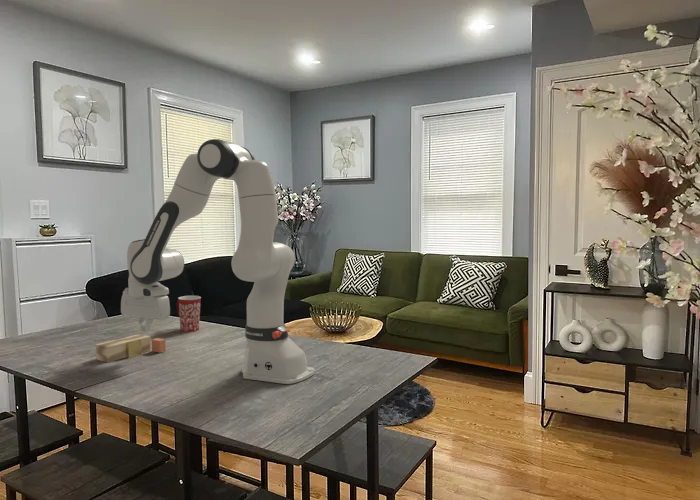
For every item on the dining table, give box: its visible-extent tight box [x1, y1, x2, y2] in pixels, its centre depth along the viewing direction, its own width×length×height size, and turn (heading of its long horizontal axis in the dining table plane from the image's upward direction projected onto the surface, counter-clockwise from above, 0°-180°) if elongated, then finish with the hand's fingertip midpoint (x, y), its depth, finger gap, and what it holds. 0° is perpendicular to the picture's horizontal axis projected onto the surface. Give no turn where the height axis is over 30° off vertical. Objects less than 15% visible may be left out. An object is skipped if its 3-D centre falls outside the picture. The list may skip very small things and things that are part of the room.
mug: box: [176, 295, 202, 333], centre depth 202 cm, size 13×9×14 cm
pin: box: [102, 339, 143, 359], centre depth 167 cm, size 15×5×5 cm, turn 60°
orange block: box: [151, 337, 167, 354], centre depth 169 cm, size 4×2×4 cm, turn 60°
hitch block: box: [95, 334, 151, 363], centre depth 165 cm, size 6×16×5 cm, turn 150°
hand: (145, 330), depth 160 cm, fingers closed
